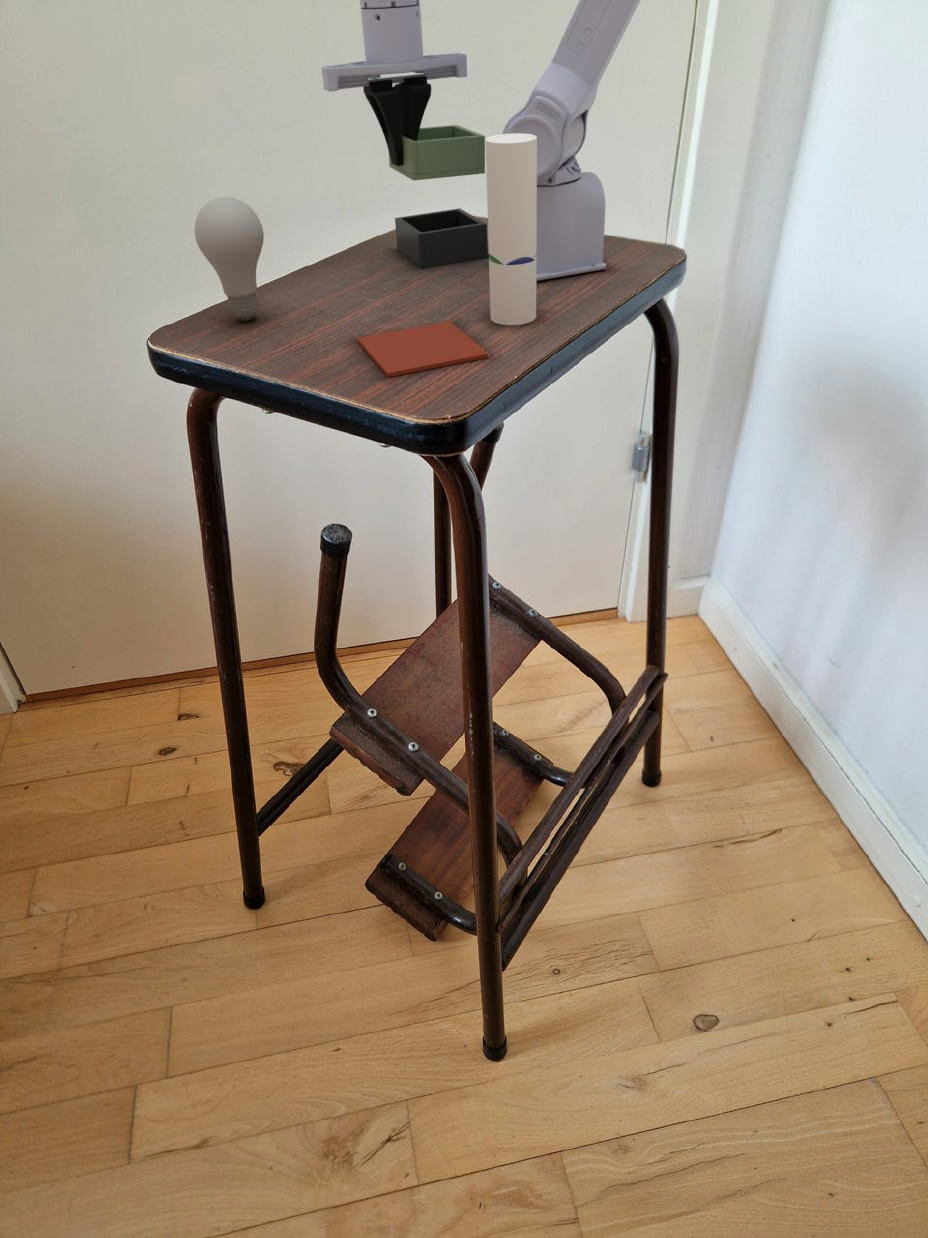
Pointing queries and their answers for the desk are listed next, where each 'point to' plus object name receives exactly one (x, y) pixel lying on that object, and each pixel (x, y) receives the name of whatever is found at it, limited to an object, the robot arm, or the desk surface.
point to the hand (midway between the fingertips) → (403, 163)
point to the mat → (421, 348)
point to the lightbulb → (232, 250)
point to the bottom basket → (441, 237)
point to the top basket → (442, 153)
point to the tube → (512, 226)
